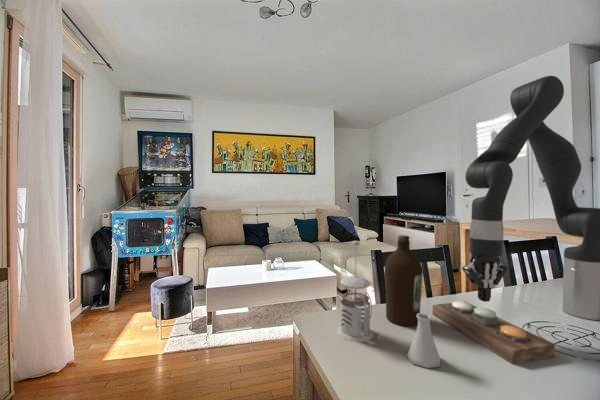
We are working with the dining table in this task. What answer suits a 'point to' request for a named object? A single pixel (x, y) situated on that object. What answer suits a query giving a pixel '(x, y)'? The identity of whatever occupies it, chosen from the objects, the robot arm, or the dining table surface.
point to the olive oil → (403, 284)
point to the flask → (424, 344)
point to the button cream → (461, 307)
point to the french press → (355, 309)
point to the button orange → (513, 334)
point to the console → (496, 336)
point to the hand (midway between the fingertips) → (484, 300)
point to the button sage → (485, 317)
